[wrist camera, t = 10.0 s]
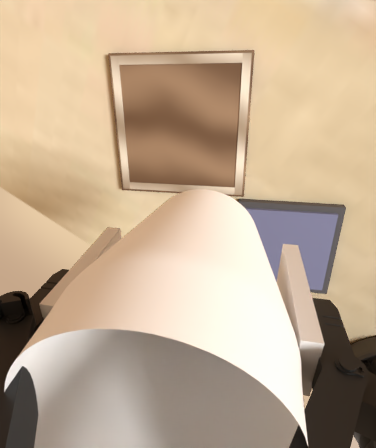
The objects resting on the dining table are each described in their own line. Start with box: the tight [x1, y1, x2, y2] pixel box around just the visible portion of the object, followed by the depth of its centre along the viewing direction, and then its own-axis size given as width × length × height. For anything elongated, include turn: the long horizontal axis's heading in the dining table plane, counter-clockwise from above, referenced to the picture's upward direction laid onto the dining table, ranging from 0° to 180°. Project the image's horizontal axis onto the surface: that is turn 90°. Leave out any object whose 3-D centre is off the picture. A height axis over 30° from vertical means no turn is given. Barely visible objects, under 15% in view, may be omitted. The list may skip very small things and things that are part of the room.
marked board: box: [109, 50, 254, 197], centre depth 32 cm, size 14×14×1 cm
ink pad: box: [239, 199, 346, 294], centre depth 36 cm, size 11×11×1 cm
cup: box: [4, 189, 308, 448], centre depth 14 cm, size 9×9×12 cm
